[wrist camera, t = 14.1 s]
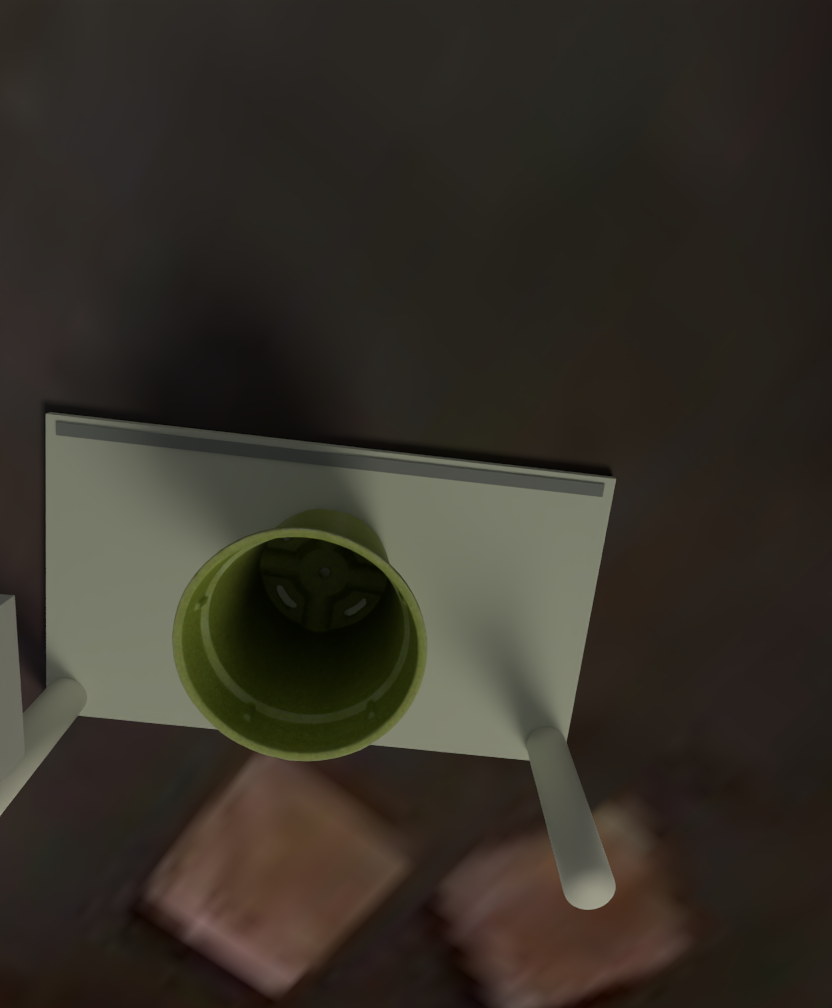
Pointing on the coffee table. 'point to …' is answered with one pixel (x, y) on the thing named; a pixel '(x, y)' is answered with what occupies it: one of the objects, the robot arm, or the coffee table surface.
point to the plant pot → (301, 639)
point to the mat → (409, 547)
